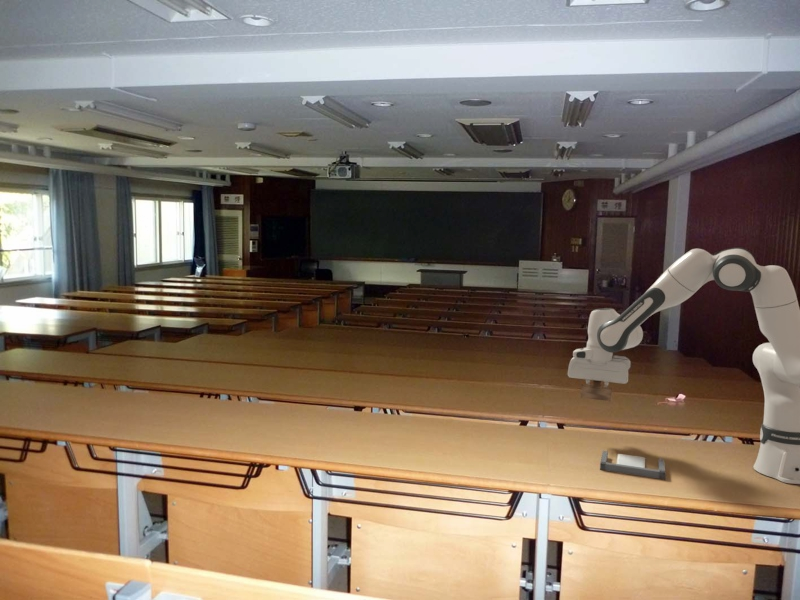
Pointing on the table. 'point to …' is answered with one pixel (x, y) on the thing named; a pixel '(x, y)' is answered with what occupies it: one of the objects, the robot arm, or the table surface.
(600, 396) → the pusher
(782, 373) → the robot arm
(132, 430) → the table surface
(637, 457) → the hard drive
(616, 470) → the bay
